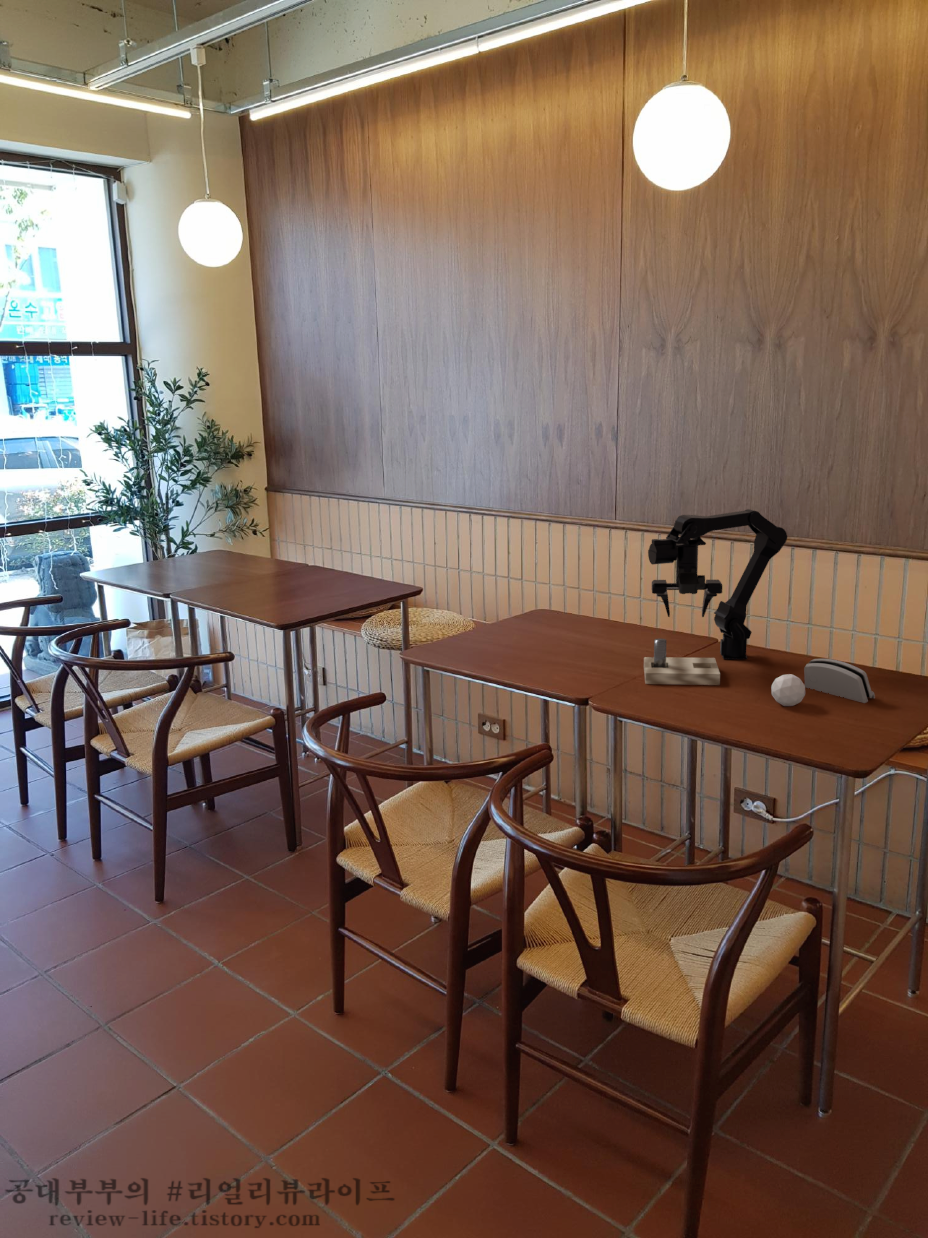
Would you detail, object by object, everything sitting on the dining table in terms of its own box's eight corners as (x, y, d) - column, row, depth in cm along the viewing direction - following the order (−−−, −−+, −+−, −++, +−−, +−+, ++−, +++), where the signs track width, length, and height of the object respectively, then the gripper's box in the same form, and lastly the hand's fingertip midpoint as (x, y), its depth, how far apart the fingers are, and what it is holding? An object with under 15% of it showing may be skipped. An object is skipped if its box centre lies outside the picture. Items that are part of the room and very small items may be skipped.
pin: (665, 674, 253) (666, 638, 251) (666, 677, 250) (666, 641, 248) (653, 673, 254) (654, 638, 251) (653, 677, 251) (654, 641, 248)
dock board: (714, 668, 256) (714, 657, 255) (719, 684, 243) (720, 674, 242) (643, 667, 259) (643, 657, 259) (645, 683, 246) (645, 673, 245)
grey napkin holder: (876, 698, 229) (871, 664, 225) (866, 709, 227) (861, 675, 222) (815, 682, 242) (809, 650, 238) (804, 692, 240) (799, 660, 235)
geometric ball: (786, 718, 226) (776, 698, 221) (771, 697, 232) (761, 677, 228) (815, 703, 225) (806, 682, 220) (799, 682, 231) (789, 662, 227)
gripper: (653, 568, 250) (652, 624, 254) (725, 567, 247) (723, 624, 251) (651, 559, 260) (651, 614, 264) (720, 559, 257) (719, 614, 261)
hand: (685, 616), depth 260 cm, fingers open, 9 cm apart
